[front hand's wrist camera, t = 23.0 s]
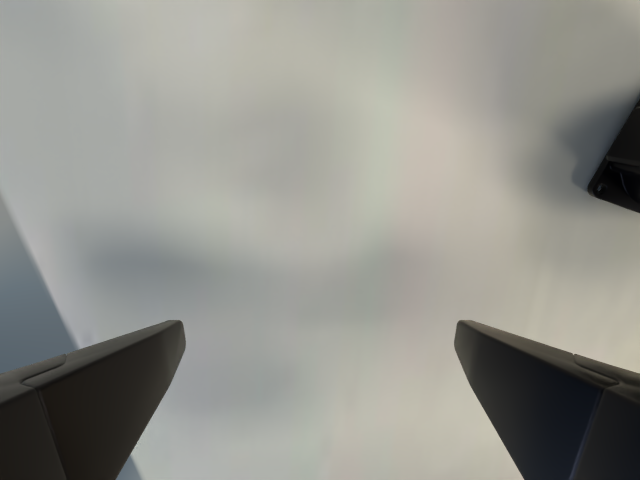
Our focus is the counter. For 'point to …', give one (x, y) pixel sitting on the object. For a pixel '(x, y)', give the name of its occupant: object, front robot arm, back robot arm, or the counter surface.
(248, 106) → the counter surface
